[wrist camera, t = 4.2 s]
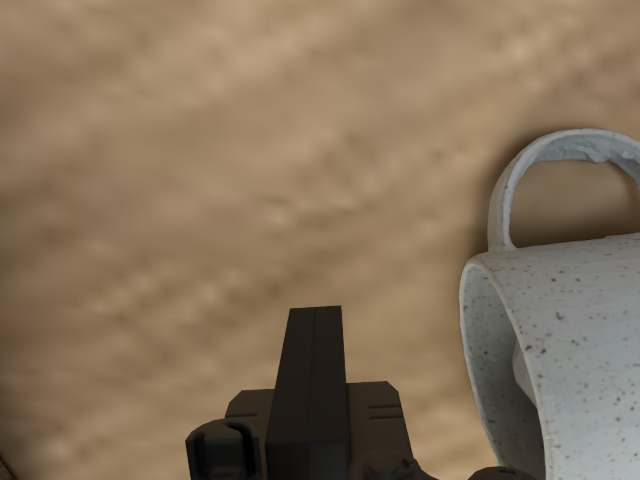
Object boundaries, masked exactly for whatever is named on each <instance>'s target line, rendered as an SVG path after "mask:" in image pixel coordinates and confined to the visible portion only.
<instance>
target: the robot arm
mask: <svg viewBox="0 0 640 480" xmlns="http://www.w3.org/2000/svg"><path fill="white" fill-rule="evenodd" d="M185 443H186V450H187V456H188V463H189V470H190V477H191V480H438V479H436V478H434V477H432V476H429V475H428V474H427V473H425V472H424V471H422V470H421V468H420V466H419V464H418V462H417V460H416V459H414V458H413V454H412V450H411V445H410V441H409V437H408V432H407V428H406V424H405V420H404V416H403V411H402V407H401V402H400V398H399V394H398V391H397V390H396V389H395V388H394V387H393V386H391V385H390V384H389V383H388V382H387V381H380V382H361V383H346V372H345V357H344V341H343V326H342V310H341V306H324V307H307V308H290V312H289V317H288V322H287V327H286V333H285V338H284V343H283V348H282V354H281V359H280V364H279V369H278V375H277V380H276V385H275V389H261V390H243V391H241V392H240V393H239V394H238V395H237V396H236V397H235V398H233V399H232V400H231V401H230V402H229V405H228V408H227V411H226V414H225V418H224V419H219V420H214V421H211V422H209V423H206V424H203V425H201V426H200V427H198V428H197V429H195V430H194V431H192V432H191V433H190V435H189V436H188V437H187V439H186V440H185ZM0 480H13V478H12V477H11V475H10V474H9V472H8V471H7V469H6V468H5V466H4V465H3V463H2V462H1V460H0ZM468 480H537V479H536V478H535V477H533V476H532V475H530V474H528V473H526V472H523V471H521V470H519V469H515V468H509V467H503V466H497V467H486V468H484V469H481V470H479V471H476V472H475V473H474V474H473V475H472V476H471V477H470V478H469V479H468Z"/></svg>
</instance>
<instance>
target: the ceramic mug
mask: <svg viewBox="0 0 640 480" xmlns="http://www.w3.org/2000/svg"><path fill="white" fill-rule="evenodd" d="M564 159H575V160H587V161H589V162H591V163H594V164H596V163H601V162H604V161H606V160H609V161H611V162H613V163H615V164H616V165H618V166H619V167H620V168H621V169H623V170H624V171H625V172H626V173H627V174H628V175H630V176H631V177H632V179H633V180H634V182H635V183H636V184H637V187H638V189H639V191H640V142H638V141H636V140H634V139H632V138H630V137H628V136H626V135H624V134H622V133H618V132H613V131H608V130H603V129H596V128H583V129H570V130H560V131H557V132H554V133H551V134H547V135H544V136H542V137H540V138H537V139H536V140H535V141H533V142H532V143H531V144H529V145H528V146H527V147H525V148H524V149H523V150H522V151H521V152H520V153H519V154H518V155H517V156H516V157H515V158H514V159H513V160H512V161H511V162H510V163H509V164H508V166H507V167H506V168H505V170H504V171H503V173H502V174H501V176H500V178H499V179H498V181H497V183H496V186H495V188H494V191H493V194H492V197H491V200H490V206H489V213H488V228H487V240H488V252H485V253H481V254H477V255H475V256H473V257H471V258H470V259H469V260H468V261H467V262H466V263H465V266H464V269H463V271H462V275H461V281H460V287H459V303H460V327H461V334H462V340H463V347H464V356H465V359H466V363H467V370H468V374H469V377H470V381H471V385H472V390H473V394H474V398H475V401H476V405H477V408H478V411H479V415H480V419H481V422H482V425H483V428H484V430H485V432H486V434H487V436H488V439H489V442H490V446H491V448H492V450H493V452H494V454H495V456H496V458H497V461H498V463H499V465H500V466H503V467H509V468H515V469H519V470H521V471H523V472H526V473H528V474H530V475H532V476H533V477H535V478H536V479H537V480H640V232H638V233H632V234H624V235H614V236H606V237H604V238H603V239H594V240H586V241H573V242H564V243H554V244H547V245H539V246H530V247H524V248H516V247H515V246H514V245H513V244H512V242H511V239H510V235H509V222H510V218H511V217H510V212H511V206H512V200H513V194H514V191H515V188H516V185H517V183H518V181H519V179H520V178H521V177H522V176H523V174H524V172H525V171H526V169H527V167H529V166H531V164H532V163H534V162H544V161H556V160H564Z"/></svg>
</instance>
